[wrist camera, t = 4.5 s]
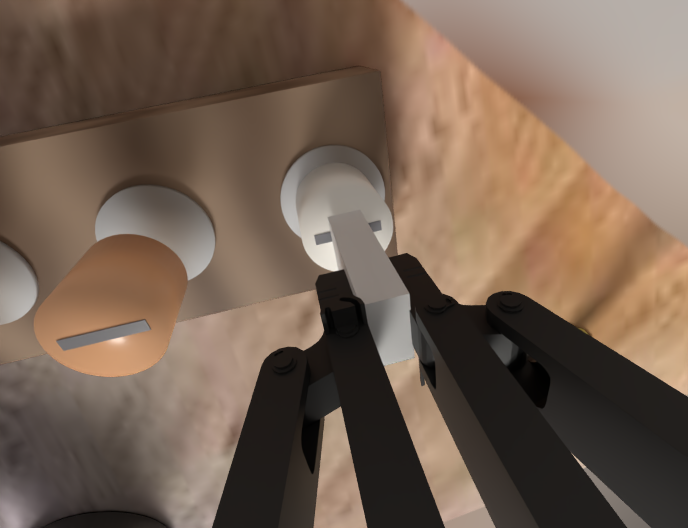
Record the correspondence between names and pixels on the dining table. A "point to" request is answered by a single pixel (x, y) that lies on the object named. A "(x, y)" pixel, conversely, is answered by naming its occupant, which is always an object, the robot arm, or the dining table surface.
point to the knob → (337, 208)
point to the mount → (185, 191)
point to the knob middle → (114, 307)
